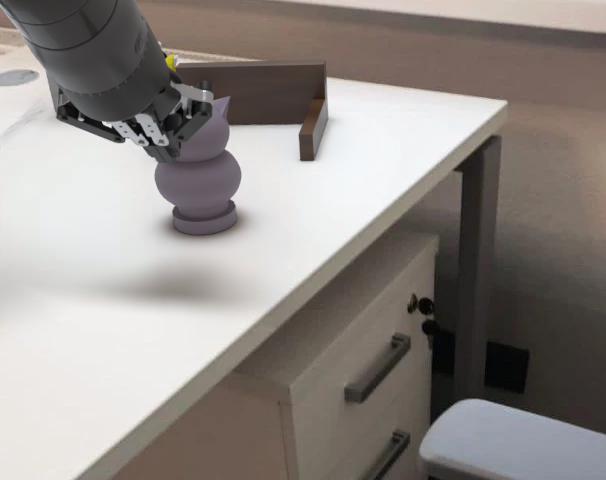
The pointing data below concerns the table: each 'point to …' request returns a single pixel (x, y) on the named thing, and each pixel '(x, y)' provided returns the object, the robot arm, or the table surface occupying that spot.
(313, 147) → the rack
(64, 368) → the table surface
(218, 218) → the cat figurine
